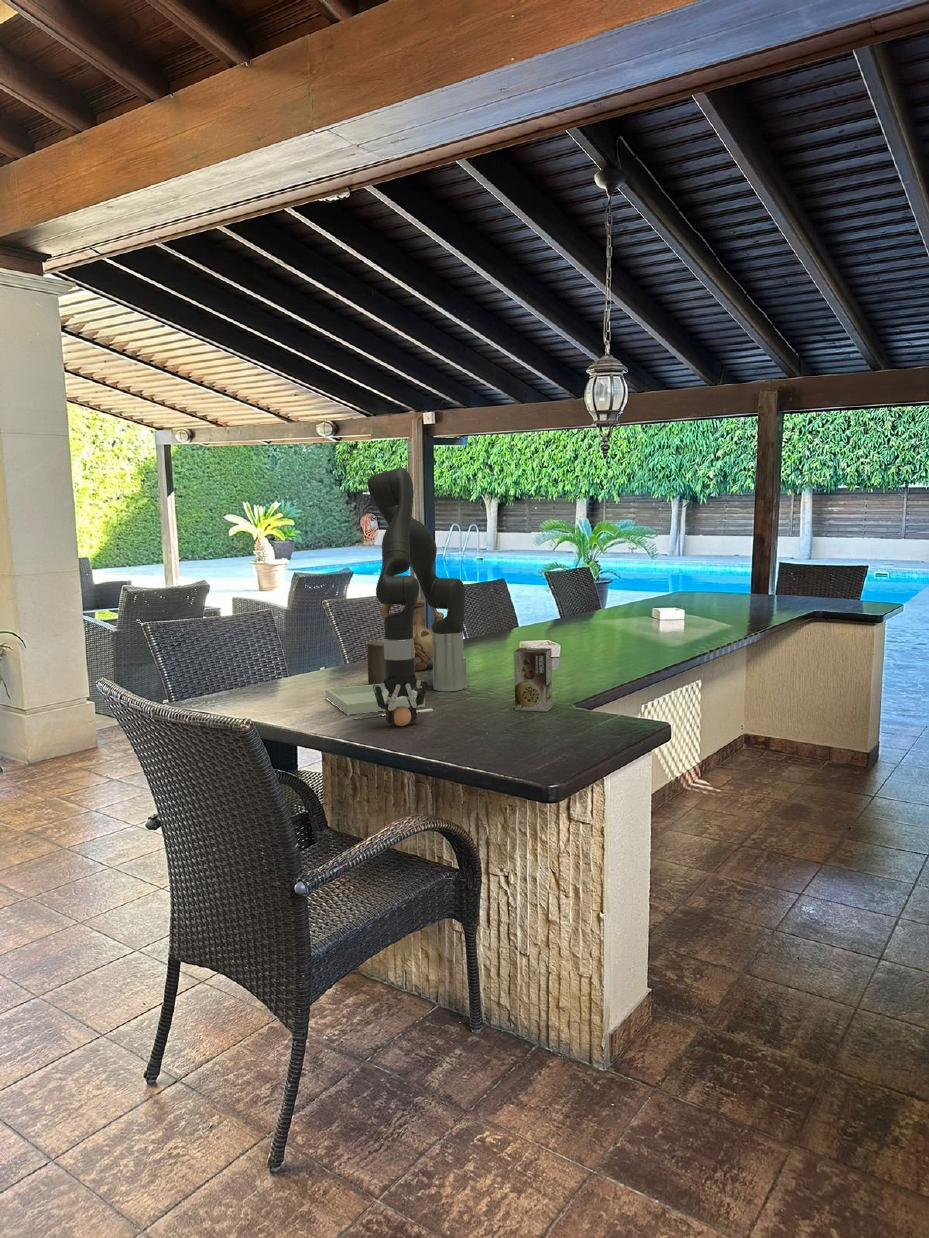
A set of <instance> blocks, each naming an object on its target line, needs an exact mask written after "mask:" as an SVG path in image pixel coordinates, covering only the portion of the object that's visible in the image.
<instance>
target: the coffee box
mask: <svg viewBox="0 0 929 1238" xmlns="http://www.w3.org/2000/svg"><path fill="white" fill-rule="evenodd" d="M552 662H553V661H552V648H549V647H548V648H543V647H519V648H517V649H516V650H515V651H513V665H514V666H513V668H514V669H513V670H514V672H513V673H514V674H513V675H514V711H529V712H546V713H547V712H549V711H550V710H551V709H552V708H553V672H552V671H553V666H552Z"/></svg>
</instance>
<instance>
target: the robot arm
mask: <svg viewBox="0 0 929 1238" xmlns="http://www.w3.org/2000/svg"><path fill="white" fill-rule="evenodd" d="M367 489H368V493H369V495H370V498H371V500H372V502H373V504H374V505H375V507H376V508H377V510H378V511H379V513H380V514H381V516H382V518H384V520H385V522H386V523H387V524H388V526H387V528H386V530H385V532H384V534H383V537H382V539H381V540H382V541H381V561H382V562H381V570H380V574H379V576H378V580H377V583H376V587H375V595H376V598H377V600H378V601H379V603H380V604H382V605H384V604H385V605H392V604H394V605H402V604H405V606H404V608H403V609H402V610H401V611H398V612H396V613H395V612H394V613H392V614H391V613H389V615H388V616H386V617H385V621H384V620H383V622H384V623H383V624H384V640H385V644H384V662H385V680H384V682H383V683H382V684H379V685H374V686H373V689H374V693H375V697H376V700H377V704H378V706H379V707H380V708H382V709H385V710H386V711H385V714H386V717H385V721H386V723H388V725H389V726H394V724H395V723H394V716H393V710H392V709H393V705H394V702H395V701H396V698H397V697H401V696H405V697H406V698H407V700H408V703H409V705H410V707H409V710H410V712H411V720H410V722H409V723H411V724H412V723H415V722H416V721H417V718H418V717H417V713H416V710H417V706H418V705H422V704H423V703H424V698H425V699H426V692H427V687H428V682H427V681H426V680H423V679H420V680H419V679H417V677H416V671H415V649H414V641H413V615H414V610H415V605H416V602H417V599H419V594H420V588H421V592H422V594H423V596H424V598H425V601H426V602H427V604H428V605H429V606H430V607H431V608H433V609H434V608H435V609H436V610H447V613H446V616H444V618H443V619H442V620H439V621H436V622H433V623H432V624H431V628H432V646H433V659H432V684H433V685H432V686H433V687H432V688H433V690H435V691H438V692H456V691H457V692H458V691H462V690H466V689H467V685H468V683H467V681H468V680H467V657H466V656H464V624H465V604H466V592H465V591H466V590H465V585H464V583H463V581H462V580H461V579H460V578H452V577H438V576H437V574H436V573H435V571H434V568H433V567H434V564H435V561H436V558H437V554H438V553H437V552H438V548H437V544H436V542H435V539H434V537H433V536H432V534H431V532H430V530H429V528H428V527H427V526H426V525H425V524H424V523H422V522H421V521H419V520H417V519H416V518H414V517H412V515H413V507H414V491H415V489H414V484H413V479H412V477H411V474H410V473H409V472H408V471H407V469H406V468H404V467H399V468H397V467H396V468H394V469H388V470H387V471H383V472H378V473H376V474H373V475H371V476H370V477H369V478H368V480H367ZM410 567H411V568H412V571H413V573H414V575H415V576H413V575H401V574H404V573H406V572H408V571H409V569H410ZM392 606H393V605H392ZM415 687H416V688H417V691H416V692H417V696H416V700H415V697H414V695H413V692H412V690H414V688H415ZM384 688H386V689H387V690H388V695H387V701H386V704H385V702H384V699H383V695H382V693H383V692H384ZM415 720H416V721H415Z"/></svg>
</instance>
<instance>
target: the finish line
mask: <svg viewBox="0 0 929 1238" xmlns="http://www.w3.org/2000/svg"><path fill="white" fill-rule="evenodd" d="M433 711H434V709H433V708H425V709H418V710H417V709H416V714H418V712H420V713H427V712H428V713H429V712H433ZM380 715H382V716H384V715H386V713H384V714H383V713H380Z"/></svg>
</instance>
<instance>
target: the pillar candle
mask: <svg viewBox="0 0 929 1238" xmlns="http://www.w3.org/2000/svg"><path fill="white" fill-rule="evenodd" d="M384 644H385V639H384V638H383V637H382V638H381V639H378V640H370V641H368V642H367V650H366V651H367V680H368V682H367V683H368V684H367V685H373V684H382V683H383V682H384V680H385V662H384Z"/></svg>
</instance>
